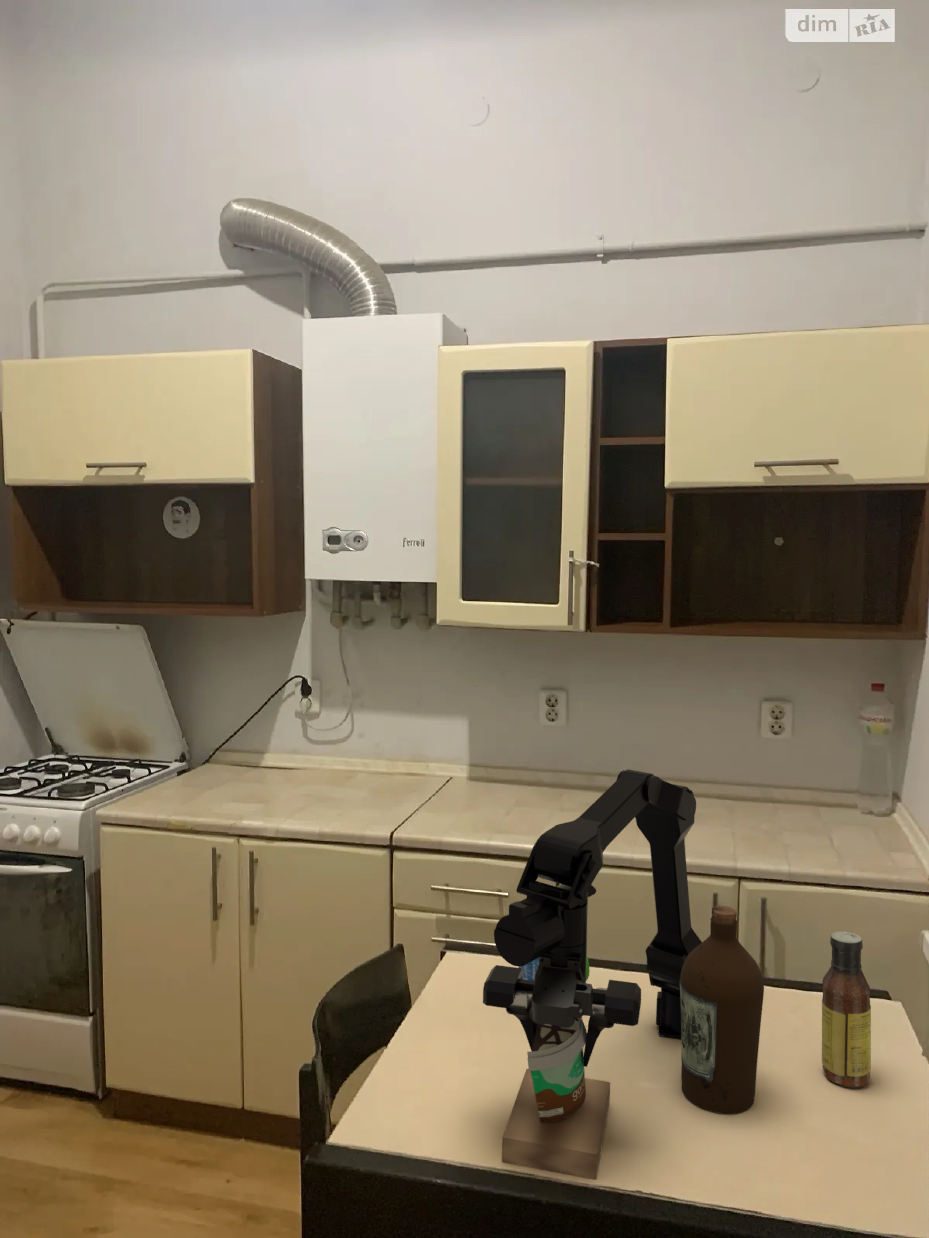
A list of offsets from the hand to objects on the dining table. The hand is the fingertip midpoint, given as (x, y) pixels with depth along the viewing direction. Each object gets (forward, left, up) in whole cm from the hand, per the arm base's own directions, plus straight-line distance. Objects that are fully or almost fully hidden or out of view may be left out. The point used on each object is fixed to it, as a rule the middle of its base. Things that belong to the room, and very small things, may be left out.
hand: (560, 1061), depth 112 cm
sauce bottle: (-36, -23, -9) cm, 44 cm away
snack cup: (+8, -36, -9) cm, 38 cm away
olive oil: (-19, -14, -9) cm, 25 cm away
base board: (0, 0, -9) cm, 9 cm away
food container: (-1, -1, -5) cm, 5 cm away
